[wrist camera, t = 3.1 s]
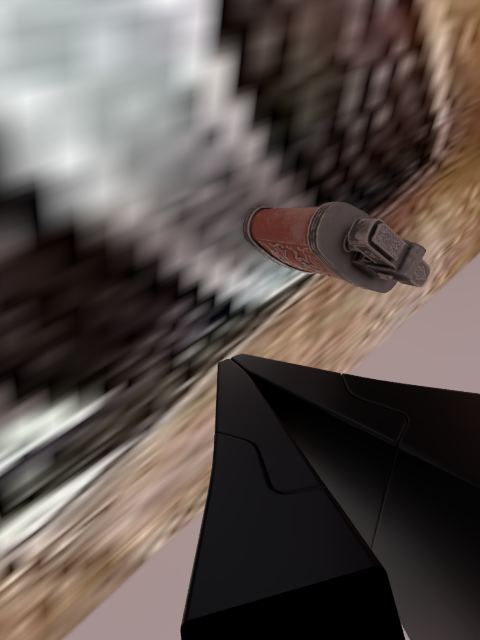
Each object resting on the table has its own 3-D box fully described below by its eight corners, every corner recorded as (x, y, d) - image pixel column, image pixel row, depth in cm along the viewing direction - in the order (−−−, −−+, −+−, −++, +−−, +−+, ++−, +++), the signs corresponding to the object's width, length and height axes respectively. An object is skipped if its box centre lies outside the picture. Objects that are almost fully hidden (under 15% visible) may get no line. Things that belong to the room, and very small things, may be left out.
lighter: (324, 243, 22) (458, 259, 14) (307, 279, 23) (428, 315, 15) (253, 194, 18) (391, 176, 10) (234, 241, 18) (350, 260, 10)
